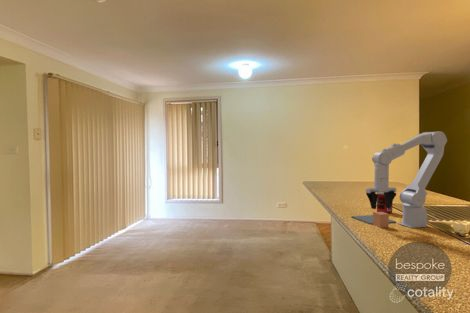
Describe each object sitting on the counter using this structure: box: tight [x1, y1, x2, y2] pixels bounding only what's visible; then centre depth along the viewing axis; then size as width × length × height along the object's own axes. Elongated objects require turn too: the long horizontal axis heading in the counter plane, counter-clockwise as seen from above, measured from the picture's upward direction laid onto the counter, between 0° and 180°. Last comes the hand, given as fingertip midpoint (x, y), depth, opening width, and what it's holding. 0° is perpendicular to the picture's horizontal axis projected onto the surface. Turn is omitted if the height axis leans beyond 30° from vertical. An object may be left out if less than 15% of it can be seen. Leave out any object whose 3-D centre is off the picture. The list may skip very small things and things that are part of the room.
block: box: [372, 211, 390, 229], centre depth 135 cm, size 4×4×6 cm
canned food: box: [376, 192, 394, 215], centre depth 163 cm, size 8×8×11 cm
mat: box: [351, 214, 397, 225], centre depth 146 cm, size 14×14×1 cm
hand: (380, 208), depth 134 cm, fingers open, 7 cm apart
